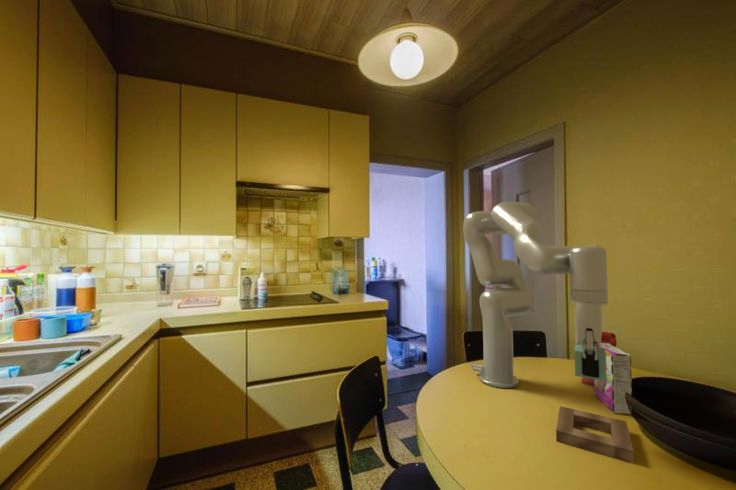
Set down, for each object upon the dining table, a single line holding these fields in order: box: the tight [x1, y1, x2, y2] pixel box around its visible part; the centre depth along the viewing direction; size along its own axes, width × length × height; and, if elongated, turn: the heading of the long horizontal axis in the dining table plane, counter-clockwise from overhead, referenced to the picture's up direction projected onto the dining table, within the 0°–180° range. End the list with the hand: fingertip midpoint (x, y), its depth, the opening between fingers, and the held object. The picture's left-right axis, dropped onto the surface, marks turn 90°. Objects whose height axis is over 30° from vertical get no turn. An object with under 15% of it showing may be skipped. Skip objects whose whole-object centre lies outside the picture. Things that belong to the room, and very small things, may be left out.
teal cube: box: [574, 343, 607, 381], centre depth 76 cm, size 6×6×6 cm
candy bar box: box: [593, 343, 633, 416], centre depth 91 cm, size 11×5×16 cm, turn 168°
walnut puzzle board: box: [555, 405, 635, 464], centre depth 76 cm, size 14×14×2 cm
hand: (590, 370), depth 76 cm, fingers closed on teal cube, 6 cm apart
